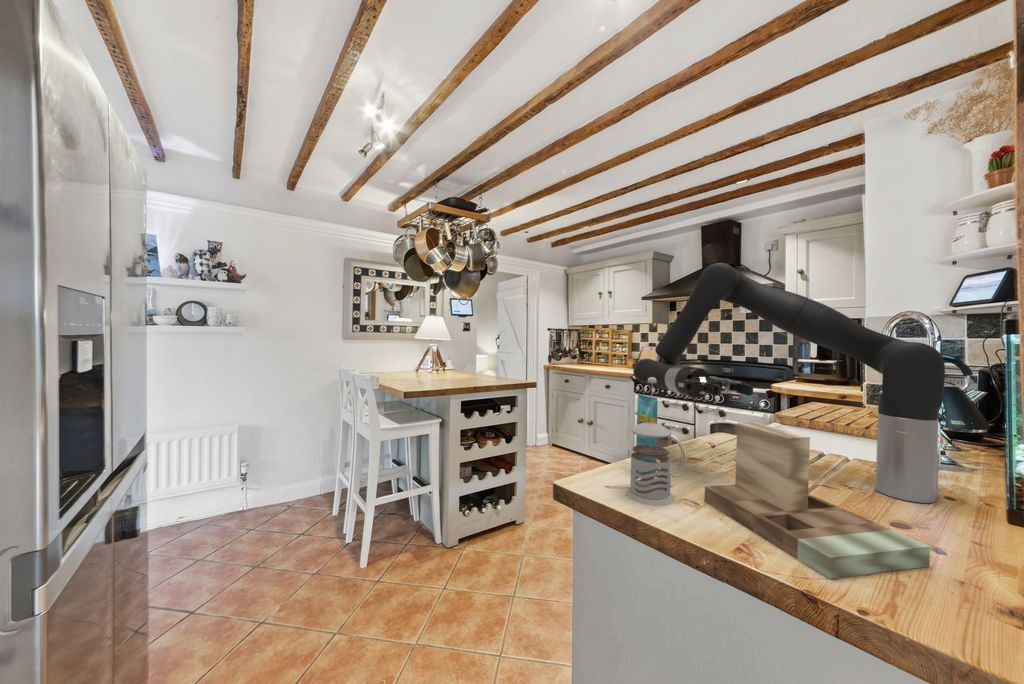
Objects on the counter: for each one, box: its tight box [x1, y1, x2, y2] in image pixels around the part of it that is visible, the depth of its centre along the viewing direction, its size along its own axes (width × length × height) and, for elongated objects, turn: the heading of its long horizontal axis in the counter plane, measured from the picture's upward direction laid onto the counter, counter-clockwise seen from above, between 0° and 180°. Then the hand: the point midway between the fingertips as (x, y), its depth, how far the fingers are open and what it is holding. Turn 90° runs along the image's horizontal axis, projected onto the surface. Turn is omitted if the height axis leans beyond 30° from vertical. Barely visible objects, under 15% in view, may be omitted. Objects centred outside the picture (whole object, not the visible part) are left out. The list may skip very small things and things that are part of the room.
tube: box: [635, 393, 658, 478], centre depth 95 cm, size 7×5×19 cm, turn 23°
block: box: [735, 421, 811, 511], centre depth 76 cm, size 4×12×13 cm, turn 11°
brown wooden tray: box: [704, 483, 931, 580], centre depth 69 cm, size 18×26×3 cm
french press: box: [625, 377, 686, 507], centre depth 82 cm, size 10×12×25 cm
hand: (735, 390), depth 84 cm, fingers open, 7 cm apart
